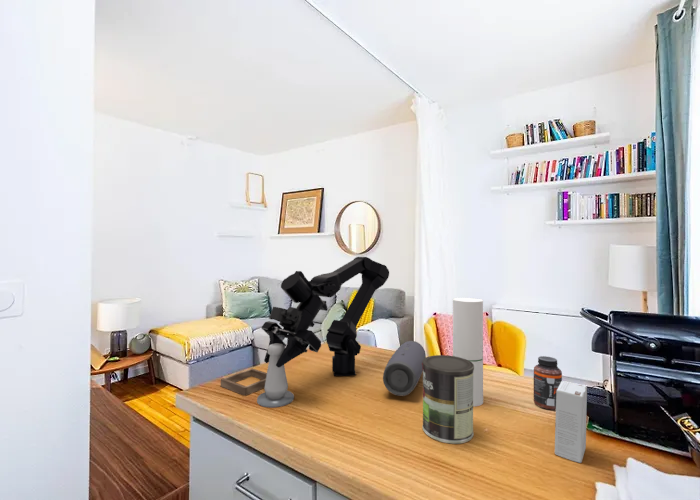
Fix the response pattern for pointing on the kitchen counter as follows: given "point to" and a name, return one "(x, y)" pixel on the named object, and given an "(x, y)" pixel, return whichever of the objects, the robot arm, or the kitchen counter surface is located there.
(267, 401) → the coaster
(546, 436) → the kitchen counter surface
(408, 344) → the bluetooth speaker
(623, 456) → the kitchen counter surface
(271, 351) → the salt shaker
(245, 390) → the square wooden frame
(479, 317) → the cylindrical container
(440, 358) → the coffee can
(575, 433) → the skincare box
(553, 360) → the supplement bottle
